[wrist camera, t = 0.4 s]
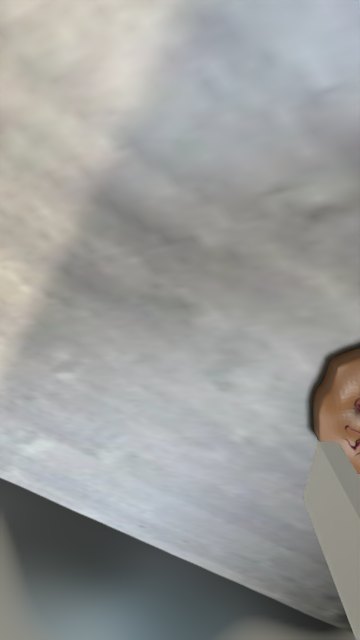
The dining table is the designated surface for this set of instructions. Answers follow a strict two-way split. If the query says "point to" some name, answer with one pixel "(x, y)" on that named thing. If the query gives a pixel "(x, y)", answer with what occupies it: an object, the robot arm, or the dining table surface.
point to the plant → (340, 405)
